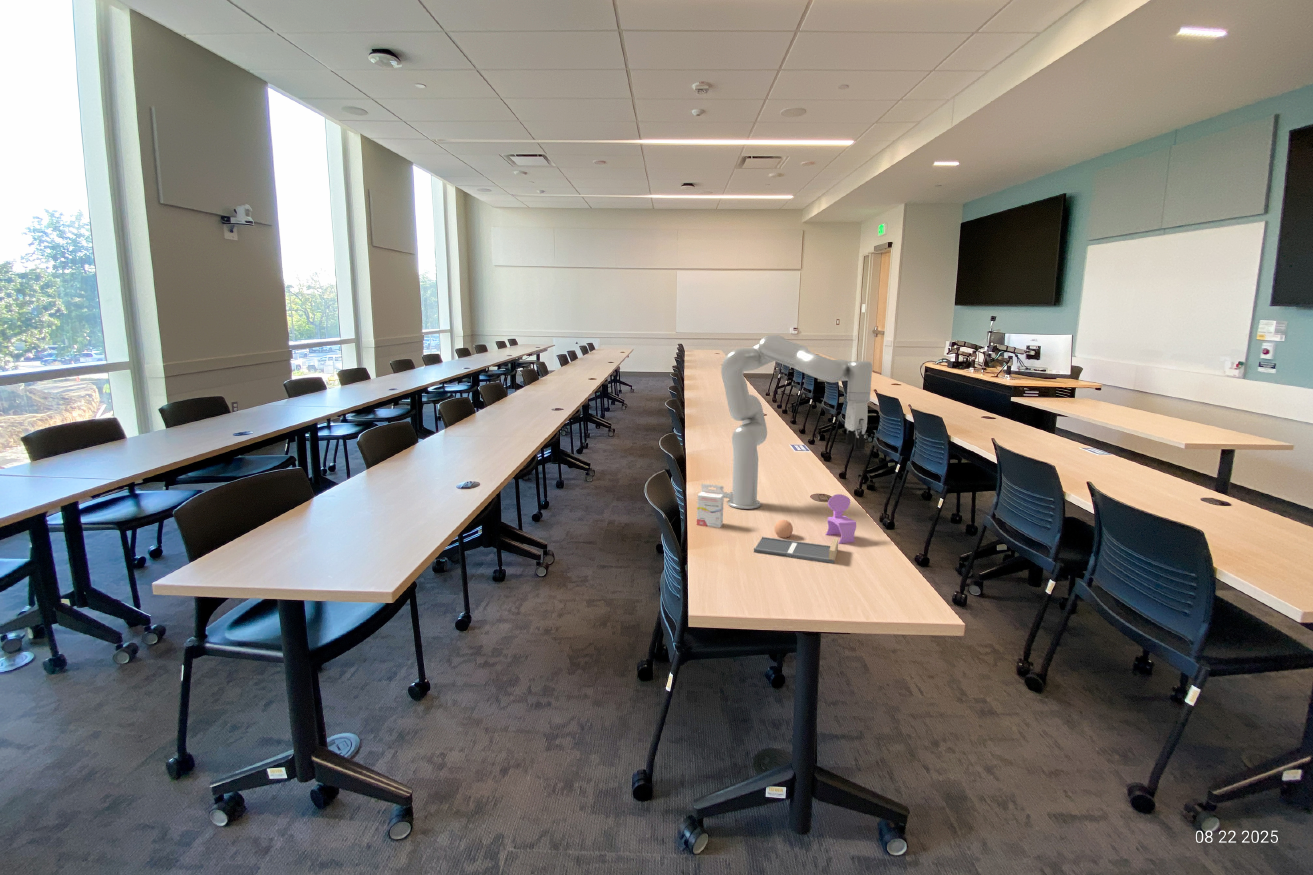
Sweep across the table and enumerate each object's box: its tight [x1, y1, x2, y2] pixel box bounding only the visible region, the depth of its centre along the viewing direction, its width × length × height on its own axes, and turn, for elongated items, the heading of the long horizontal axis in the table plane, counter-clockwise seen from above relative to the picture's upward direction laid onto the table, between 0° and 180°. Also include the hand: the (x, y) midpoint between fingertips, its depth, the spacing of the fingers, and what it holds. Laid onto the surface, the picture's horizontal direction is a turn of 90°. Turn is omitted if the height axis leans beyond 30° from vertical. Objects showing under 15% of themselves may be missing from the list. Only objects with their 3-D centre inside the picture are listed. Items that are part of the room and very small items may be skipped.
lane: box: [753, 536, 839, 565], centre depth 187 cm, size 24×12×4 cm, turn 68°
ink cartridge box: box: [696, 483, 725, 529], centre depth 209 cm, size 9×5×15 cm, turn 71°
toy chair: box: [825, 493, 857, 545], centre depth 196 cm, size 8×9×15 cm
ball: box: [774, 519, 794, 539], centre depth 199 cm, size 6×6×6 cm
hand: (855, 446), depth 207 cm, fingers open, 9 cm apart
